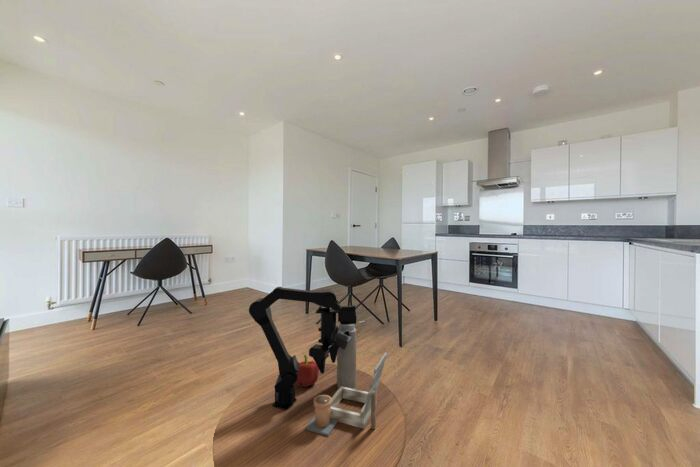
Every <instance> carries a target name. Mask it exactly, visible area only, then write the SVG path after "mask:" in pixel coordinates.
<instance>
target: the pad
mask: <svg viewBox="0 0 700 467" xmlns="http://www.w3.org/2000/svg"><path fill="white" fill-rule="evenodd" d="M338 423H339V422H338V420H337V419H333V418H331V423H330V425H329V426H327V427H325V428H319V427H317V426H316V425H315V415H314V416H313V417H312V418H311V419H310V421H309V422H307V424H306V425H305V427H304V429H305V430H306V431H309V432H313V433H317V434H319V435H323V436H327V437H329V436H330V434H331V433H332V432H333V429H335V426H336V425H337V424H338Z"/></svg>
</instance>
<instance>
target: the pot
mask: <svg viewBox="0 0 700 467" xmlns="http://www.w3.org/2000/svg"><path fill="white" fill-rule="evenodd" d="M331 404H332V396H330V395H328V394H319V395H317V396H315V397H314V398H313V406H314V416H315V425H316V426H317V427H319V428H325V427H327V426H329V425H330V423H331Z"/></svg>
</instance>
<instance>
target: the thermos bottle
mask: <svg viewBox="0 0 700 467" xmlns="http://www.w3.org/2000/svg"><path fill="white" fill-rule="evenodd" d="M355 326H356V324H346V325H341V323H340V322H338V328H339V332H343V333H345V332H346V331H347V330H348V331H350V332H351V337H352V340H351V341H350V344H349V346H348V347H347V348H346V349H342V348H341V347H339V349H338V353H337V356H336V387H337V388H338V389H339V388H340V387H341V386H342V387H347V388H352V389H356V387H357V328H355Z"/></svg>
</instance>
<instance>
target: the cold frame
mask: <svg viewBox="0 0 700 467" xmlns="http://www.w3.org/2000/svg"><path fill="white" fill-rule="evenodd" d="M387 355H388V353H387V352H385V353H384V354H383V355H382V357H381V359H380V360H379V362H378V364H377V365H376V366H375V367H374V370H373V374H372V377H371V381H370V385H369V390H368V391H365V390H360V389H356V388H353V389H352V388H347V387H342V386H341V387H340V388H338V389H337V391H335V393H334V395H332V396H331V398H332V404H331V418H333V419H337V420H338V422H337V423H341V424H344V425H348V426H349V425H350V426H353V427H356V428H360V429H365V428H366V426H367V424H368V422H369V420H370V429H372V430H376V427H377V408H376V407H377V403H378V402H377V400H378V398H377V394H378V393H377V391H378V389H379V386H380V382H381V381H380V380H381V377H382V374H383V369H384V366H385V364H386V358H387ZM342 399H345V400H350V401H354V402H359V403H362V404H363V403H364V405H363V406H362V409H361V410H360V413H359V412H356V411H352V410H347V409H345V408H344V409H342V408H339V407H338V405H339V403H340V402H341V401H342Z"/></svg>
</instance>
